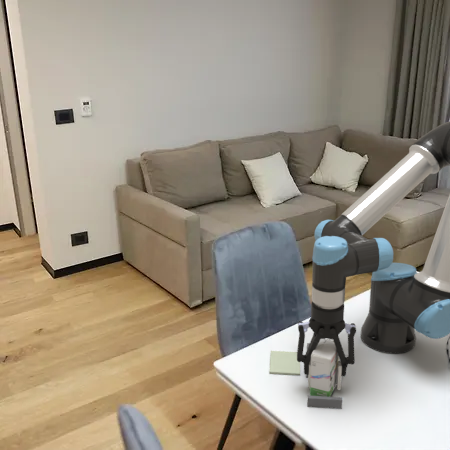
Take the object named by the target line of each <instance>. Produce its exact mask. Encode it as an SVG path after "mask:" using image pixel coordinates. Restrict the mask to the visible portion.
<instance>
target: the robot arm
mask: <svg viewBox="0 0 450 450" xmlns="http://www.w3.org/2000/svg"><path fill="white" fill-rule="evenodd" d="M408 151H409V152H408V153H407V155H405V156H404V157H403V158H402V159H401V160H399V162H397V163H396V164H395V166H393V167H392V168H391V169H390V170H389V171H388V172H386V173H385V174H384V175H383V176H382V177H380V179H379V180H378V181H377V182H376V183H374V184H373V185H372V186H371V187H370V188H369V189H368V190H366V191H365V192H364V193H363V194H362V195H361V196H359V198H358V199H357V200H355V202H353V203H352V204H351V205H350V206H349V207H347V209H346V210H344V212H342V213H341V214H340V215H339V216H338V217H337V218H335V220H333V219H325V220H322V221H320V222H319V223H318V224H317V226H315V227H316V228H315V229H314V235H313V236H314V240H315V241H314V245H313V248H312V249H313V250H312V279H311V281H312V284H311V303H310V304H311V308H310V309H311V310H310V319H309V320H308V321H306V322H303V321H301V320H300V321H298V323H297V329H298V333H299V335H298V343H297V350H296V352H297V361H298V362H300V363H303V374H304V375H305V376H306V375H308V378H307V384H308V385H307V386H308V389H310V374H311V354H312V352H313V350H315V349H316V347H317V345H318V343H319V341H320V339H328V340H332V341H334V343H335V346H336V349H337V352H338V355H339V360H338V364H337V384H336V388H337V389H336V390H337V391H341V389H342V378H343V377H346V375H347V368H348V365H354V364H355V362H356V361H355V335H356V333H357V328H356V327H357V326H356V324H355V323H353V322H352V323H350V324H349V323H346V321H345V320H344V316H345V314H344V313H345V298H346V282H347V278H349V277H353V276H357V275H364V274H369V273H371V274H372V275H371V278H370V292H369V294H370V295H369V308H368V313H367V316H366V318H365V320H364V322H363V324H362V327H361V331H360V339H361V341H362V342H363V343H364V344H365V345H366V346H367V347H369V348H371V349H373V350H375V351H378V352H382V353H386V354H405V353H407V352H410V351H411V350H413V348H414V347H415V346H416V339H417V337H416V336H417V335H416V332H417V333H418V334H419V333H420V334H422V335H424V336H425V337H427V338H430V339H433V340H435V339H436V340H437V339H441V338H444V337H447V336H448V335H450V193H449V194H448V198H447V200H446V204H445V206H444V209H443V211H442V215H441V217H440V220H439V223H438V226H437V229H436V231H435V234H434V238H433V240H432V243H431V246H430V249H429V251H428V254H427V257H426V259H425V263H424V264H423V268H422V270H421V271H420V272H417V268H416V266H414V265H411V264H408V263H403V262H393V261H394V249H393V247H392V245H391V242H390V241H389V240H387V239H386V238H384V237H373V238H371V239H370V238H366V237H364V235H365V233H367V232H368V231H369V230H370V229H371V228H372V227H373V226H374V225H375V224H377V222H379V221H380V220H381V219H382V218H383V217H384V216H385V215H386V214H388V213H389V212H390V211H391V210H392V209H394V207H395V206H396V205H398V203H400V202H401V201H402V200H403V199H404V198H405V197H406V196H407V195H409V194H410V192H411V191H413V190H414V189H415V188H416V187H418V185H420V184H421V183H422V182H423V181H424V180H425V179H426V178H427V177H428V176H430V175H434V174H438V173H439V172H440V171H441V170H442V169H444V168H447V167H448V166H450V120H449V121H446V122H444V123H442V124H440V125H438V126H436V127H434V128H433V129H431V130H430V131H428V132H427V133H425V134H424V135H422V136H421V137H419V139H418V140H416V141H415V142H414V143H413V144H411V145H410V147H409V148H408ZM309 328H310V330H312V332H313V333H312V334H313V335H312V338H311V340H310V342H309V343H310V344H309V347H308V349H307V348H306V351H305V354H304V348H305V339H306V333H307V332H308V329H309ZM344 330H345V332H346V334H347V353H348V356H346V355H345V352H344V348H343V346H342V342H341V338H340V334H341V333H342V331H344ZM415 331H416V332H415Z"/></svg>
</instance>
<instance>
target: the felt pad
mask: <svg viewBox="0 0 450 450" xmlns="http://www.w3.org/2000/svg"><path fill="white" fill-rule="evenodd" d="M269 358H270V359H269V371H268V372H269V373H268V374H269V375H281V376H297V377H298V376H299V377H300V376H301V362H298V361H297V351H284V350H283V351H281V350H270V357H269Z"/></svg>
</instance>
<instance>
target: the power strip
mask: <svg viewBox="0 0 450 450" xmlns="http://www.w3.org/2000/svg"><path fill="white" fill-rule="evenodd" d="M309 344H310V342H307V343H306V350H307V349H308V347H309ZM305 378H306V379H308V375H305ZM306 402H307V404H306V405H307V408H318V409H319V408H320V409H335V410H337V409H338V410H342V409H343V397H342V396H341V397H338V396H330V397H326V396H310V394H309V395H307V401H306Z"/></svg>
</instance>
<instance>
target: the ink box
mask: <svg viewBox="0 0 450 450" xmlns="http://www.w3.org/2000/svg"><path fill="white" fill-rule="evenodd" d="M338 360H339V361H340V358H339V355H338V352H337V349H336V346H335V343H334V341H333V339H327V338H325V339H320V341H319V343H318V345H317V347H316V349H315V350H313V352H312V354H311V374H310V388H309V396H326V397H332V395H333V392H334V390H335V388H336V387H337V364H338Z"/></svg>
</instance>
